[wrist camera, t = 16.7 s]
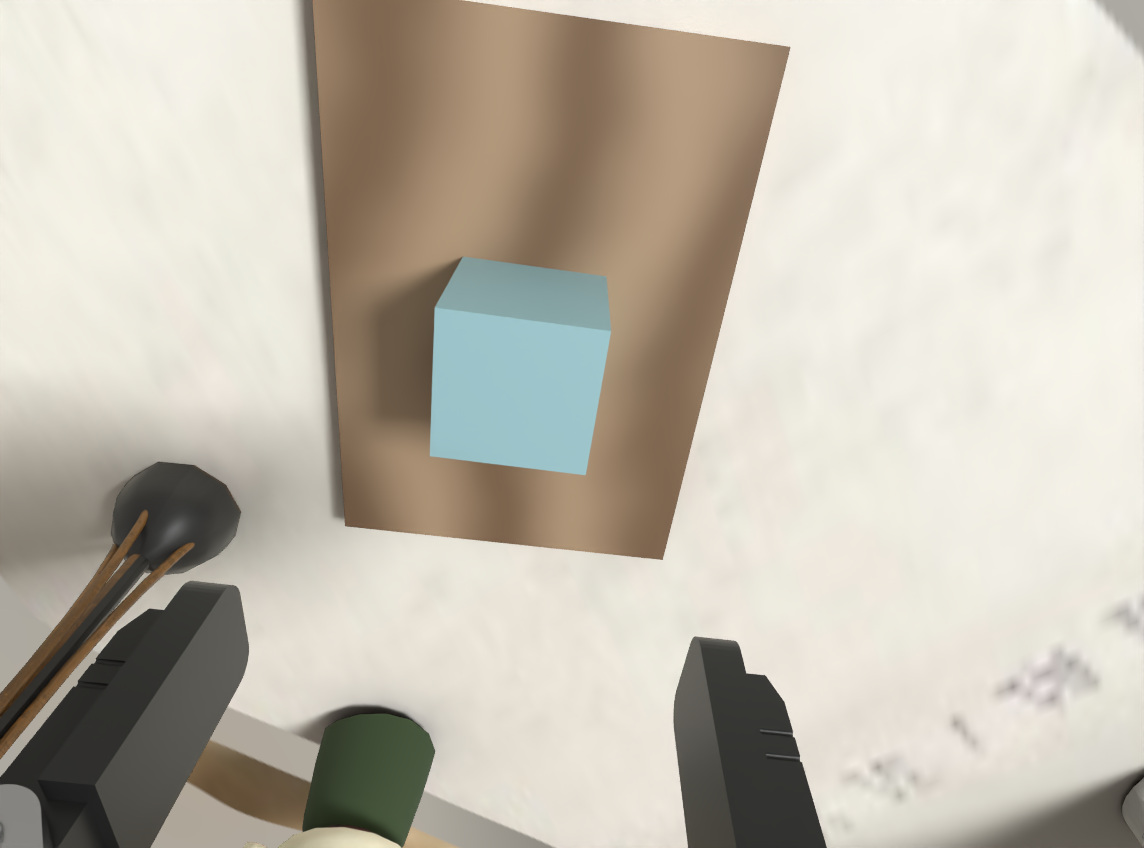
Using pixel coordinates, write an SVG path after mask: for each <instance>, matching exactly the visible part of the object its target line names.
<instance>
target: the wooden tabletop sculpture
mask: <svg viewBox="0 0 1144 848" xmlns="http://www.w3.org/2000/svg"><path fill="white" fill-rule="evenodd" d="M240 514H241V511H240V509H239V507H238V505H237V504H236V502H235V500H234V498H233V497H232V495H231V493H230V491H229V490H228V488H227V486H226V485H225V484H224V483H222V482H220V481H219V480H217V479H215V478H214V477H212V476H211V475H209V474H207V473H206V472H204V471H202V470H201V469H199V468H197V467H196V466H194V465H185V464H175V463H164V462H158V463H156V464H154V465H152V466H151V467H149V468H147V469H146V470H144V471H142V472H140V473H139V474H137V475H135V476H134V477H133V478H132V479H131V480H130V481H129V482H128V483H127V484H126V485H125V486H124V488H123V489H122V491H121V492H120V494H119V495H118V497H117V499H116V504H115V508H114V512H113V520H112V528H111V536H112V539H113V542H114V544H113V546H112V548H111V550H110V552H109V553H108V555H107V556H106V558H105V559H104V561H103V563H102V564H101V566H100V567H99V569H98V570H97V572H96V574H95V575H94V577H93V578H92V580H91V581H90V582H89V584H88V585H87V586H86V588H85V589H84V591H83V592H82V593H81V595H80V596H79V597H78V599H77V600H76V601H75V603H74V604H73V606H72V607H71V608H70V610H69V611H68V612H67V614H66V615H65V616H64V618H63V619H62V620H61V621H60V622H59V624H58V625H57V626H56V627H55V629H54V630H53V631H52V632H51V634H50V635H49V636H48V637H47V638H46V640H45V641H44V642H43V643H42V645H41V646H40V647H39V648H38V650H37V651H36V652H35V653H34V655H33V656H32V657H31V658H30V659H29V661H28V662H27V663H26V665H25V666H24V667H23V668H22V669H21V670H20V671H19V673H18V674H17V675H16V676H15V677H14V678H13V680H12V681H11V682H10V683H9V684H8V685H7V687H5V689H4V690H3V691H2V692H1V693H0V759H1V758H2V757H3V755H4V754H5V753H6V752H7V750H8V749H9V748H10V747H11V746H12V744H13V743H14V742H15V741H16V739H17V738H18V737H19V735H20V734H21V733H22V732H23V731H24V730H25V728H26V727H27V726H28V725H29V723H30V722H31V721H32V720H33V719H34V718H35V716H36V715H37V714H38V713H39V712H40V710H41V709H42V708H43V707H44V705H45V704H46V703H47V702H48V700H49V699H50V698H51V697H52V696H53V695H54V693H55V692H56V691H57V690H58V689H59V687H60V686H61V685H62V684H63V683H64V681H65V680H66V679H67V678H68V677H69V675H70V674H71V673H72V672H73V671H74V669H75V668H76V667H77V666H78V665H79V664H80V663H81V661H82V660H83V659H84V658H85V657H86V656H87V655H88V654H89V653H90V651H91V650H92V649H93V648H94V647H95V646H96V645H97V643H98V642H99V641H100V640H101V639H102V638H103V637H104V636H105V634H106V633H107V632H108V631H109V630H110V629H111V628H112V627H113V625H114V624H115V623H116V622H117V621H118V620H119V619H120V618H121V617H122V616H123V615H124V614H125V613H126V612H127V611H128V609H129V608H130V607H131V606H132V605H133V604H134V603H135V602H136V601H137V600H138V599H139V598H140V597H141V596H142V595H143V594H144V593H145V592H146V591H147V590H148V589H149V588H150V587H152V586H153V585H154V584H155V583H156V582H157V581H158V580H159V579H160V578H161V577H163V576H164V575H165V574H166V575H168V574H179V573H184V572H186V571H188V570H190V569H192V568H194V567H196V566H198V565H200V564H202V563H203V562H205V561H207V560H209V559H211V558H213V557H215V556H217V555H218V554H219V553H220V552H221V551H223V550H224V549H225V548H226V547H227V546H228V544H229V543H230V542H231V540H232V539H233V538H234V536H235V535H236V530H237V526H238V522H239V518H240ZM123 558H124V560H125V562H124V563H123V565H122V566H121V567H120V568H119V569H118V570H117V571H116V573H115V574H114V575H113V576H112V577H111V575H112V574H113V573H114V571H115V570H116V569H117V567H118V566H119V564H120V563H121V561H122V560H123ZM144 572H145V573H151V574H150V575H149V576H148V577H147V578H145V579H144V580H143V581H142V582H141V583H140V584H139V585H138V586H137V587H136V588H135V589H134V590H133V591H132V593H131V594H130V595H129V596H128V597H126V599H125V600H124V601H123V602H122V603H121V604H120V605H119V606H118V607H117V608H116V609H115V607H116V606H117V605H118V604H119V603H120V601H121V600H122V599H123V598H124V597H125V595H126V594H127V593H128V592H129V590H130V589H131V588H132V587H133V586H134V584H135V583H136V582H137V581H138V579H139V578H140V577H141V576H142V575H143V573H144ZM110 577H111V578H110ZM109 578H110V579H109ZM108 579H109V581H108ZM107 581H108V582H107ZM106 582H107V583H106ZM114 609H115V610H114ZM113 610H114V611H113ZM112 611H113V612H112ZM111 612H112V613H111Z"/></svg>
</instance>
